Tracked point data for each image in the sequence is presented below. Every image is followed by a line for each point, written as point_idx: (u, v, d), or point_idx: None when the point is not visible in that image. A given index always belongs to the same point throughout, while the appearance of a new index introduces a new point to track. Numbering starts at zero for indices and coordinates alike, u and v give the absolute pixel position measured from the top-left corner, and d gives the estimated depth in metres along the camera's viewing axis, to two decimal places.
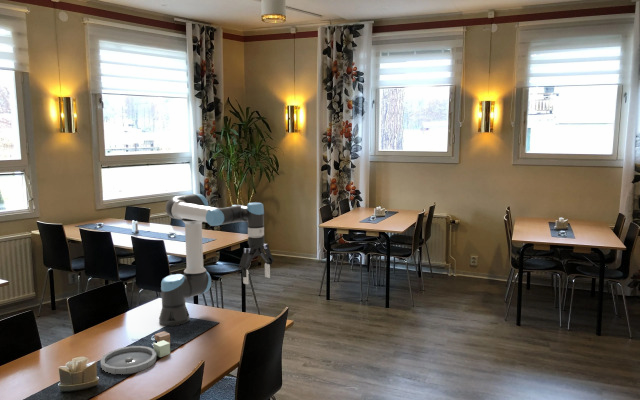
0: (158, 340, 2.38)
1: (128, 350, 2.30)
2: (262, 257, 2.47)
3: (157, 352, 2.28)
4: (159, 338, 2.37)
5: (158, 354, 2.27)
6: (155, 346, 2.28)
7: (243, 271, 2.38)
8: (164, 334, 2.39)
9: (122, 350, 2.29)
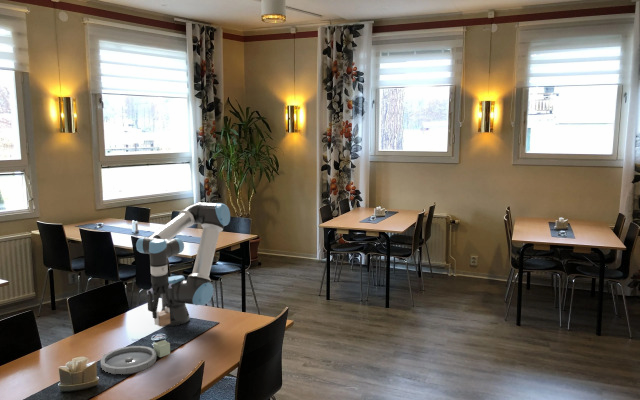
0: None
1: (128, 350, 2.30)
2: (164, 297, 2.40)
3: (157, 352, 2.28)
4: (159, 317, 2.36)
5: (158, 354, 2.27)
6: (155, 346, 2.28)
7: (153, 312, 2.35)
8: (164, 313, 2.38)
9: (122, 350, 2.29)
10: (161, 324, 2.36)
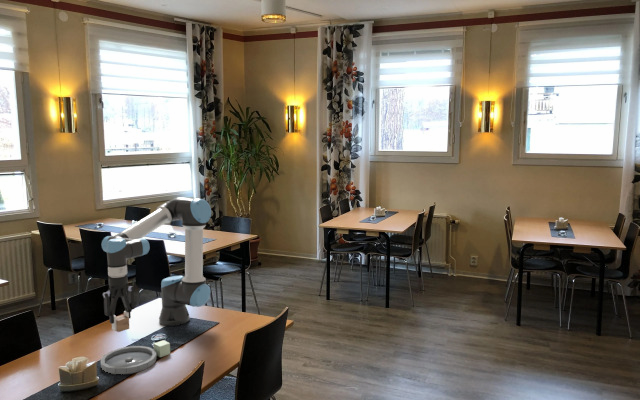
0: None
1: (128, 350, 2.30)
2: (123, 301, 2.24)
3: (157, 352, 2.28)
4: (116, 322, 2.20)
5: (158, 354, 2.27)
6: (155, 346, 2.28)
7: (110, 317, 2.19)
8: (122, 318, 2.22)
9: (122, 350, 2.29)
10: (119, 329, 2.20)
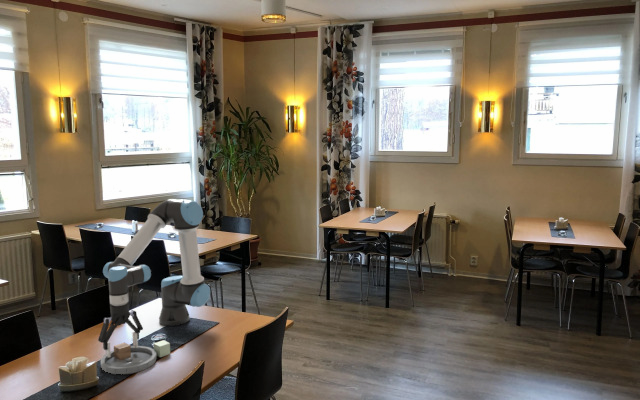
0: (117, 352, 2.22)
1: None
2: (129, 325, 2.27)
3: (157, 352, 2.28)
4: (118, 350, 2.22)
5: (158, 354, 2.27)
6: (155, 346, 2.28)
7: (104, 343, 2.18)
8: (124, 346, 2.24)
9: None
10: (120, 358, 2.22)
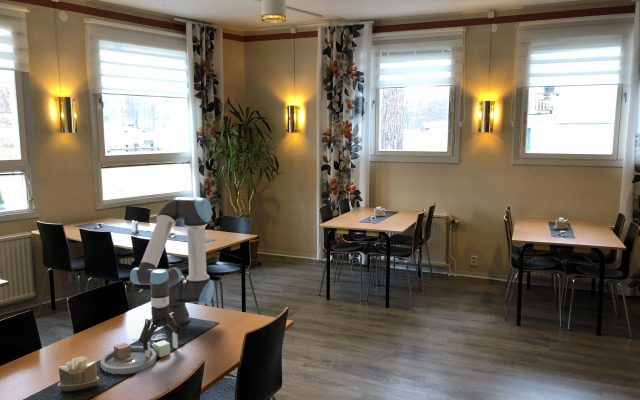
0: (117, 352, 2.22)
1: None
2: (169, 326, 2.32)
3: (157, 352, 2.28)
4: (118, 350, 2.22)
5: (158, 354, 2.27)
6: (155, 346, 2.28)
7: (144, 344, 2.23)
8: (124, 346, 2.24)
9: None
10: (120, 358, 2.22)
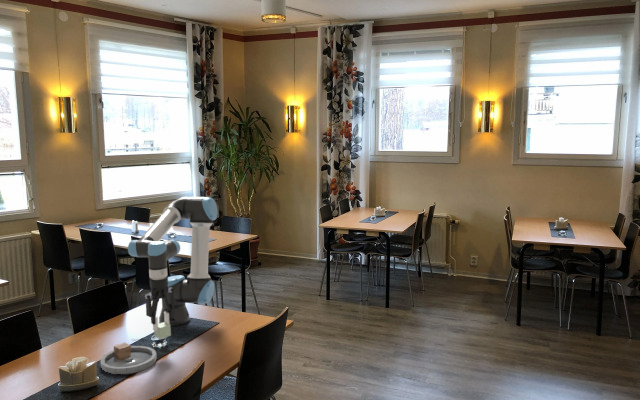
0: (117, 352, 2.22)
1: None
2: (163, 302, 2.29)
3: (157, 334, 2.27)
4: (118, 350, 2.22)
5: (158, 336, 2.26)
6: None
7: (152, 318, 2.25)
8: (124, 346, 2.24)
9: None
10: (120, 358, 2.22)
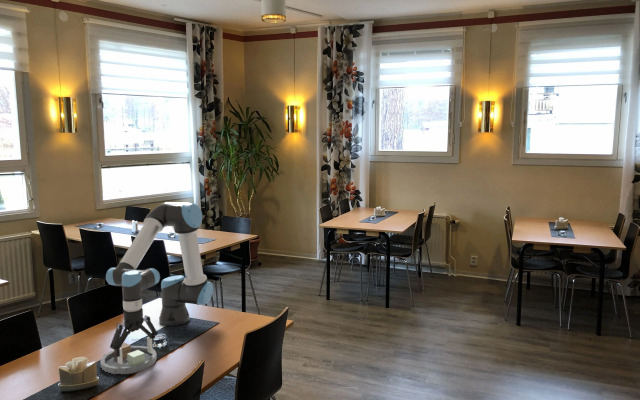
0: None
1: None
2: (143, 331, 2.20)
3: (131, 363, 2.15)
4: None
5: (132, 365, 2.14)
6: (129, 356, 2.15)
7: (116, 350, 2.10)
8: (124, 346, 2.24)
9: None
10: None
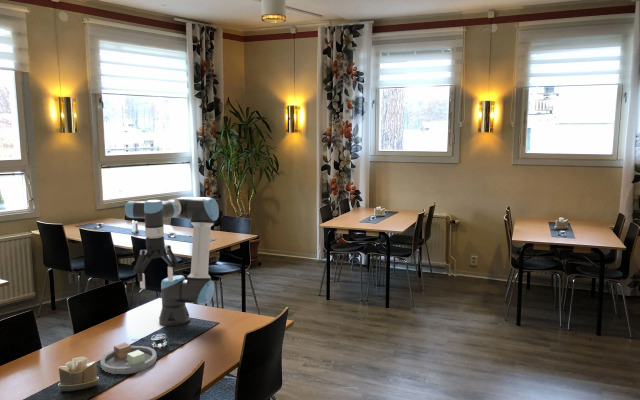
0: (117, 352, 2.22)
1: None
2: (164, 259, 2.28)
3: (131, 363, 2.15)
4: (118, 350, 2.22)
5: (132, 365, 2.14)
6: (129, 356, 2.15)
7: (139, 275, 2.18)
8: (124, 346, 2.24)
9: None
10: (120, 358, 2.22)
